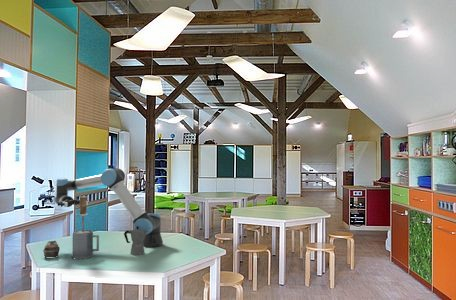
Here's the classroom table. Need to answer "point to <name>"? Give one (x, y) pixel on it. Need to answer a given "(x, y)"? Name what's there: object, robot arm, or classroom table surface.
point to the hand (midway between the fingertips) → (77, 203)
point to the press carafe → (84, 244)
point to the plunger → (83, 212)
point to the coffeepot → (136, 241)
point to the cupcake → (51, 249)
